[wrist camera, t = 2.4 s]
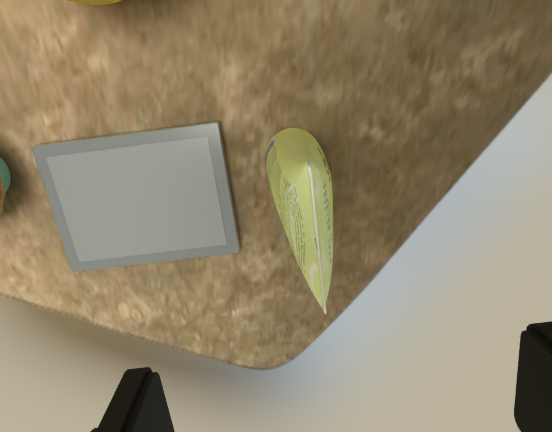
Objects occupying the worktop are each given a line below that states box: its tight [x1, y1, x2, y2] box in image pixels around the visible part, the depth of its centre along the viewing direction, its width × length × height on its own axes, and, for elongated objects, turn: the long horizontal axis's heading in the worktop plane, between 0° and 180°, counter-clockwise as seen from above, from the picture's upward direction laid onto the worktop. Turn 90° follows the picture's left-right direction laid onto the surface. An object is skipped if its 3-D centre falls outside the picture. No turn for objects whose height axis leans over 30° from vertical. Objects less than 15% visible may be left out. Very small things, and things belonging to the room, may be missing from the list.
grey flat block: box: [32, 121, 241, 272], centre depth 37 cm, size 16×12×2 cm
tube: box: [266, 128, 333, 314], centre depth 28 cm, size 6×5×20 cm
